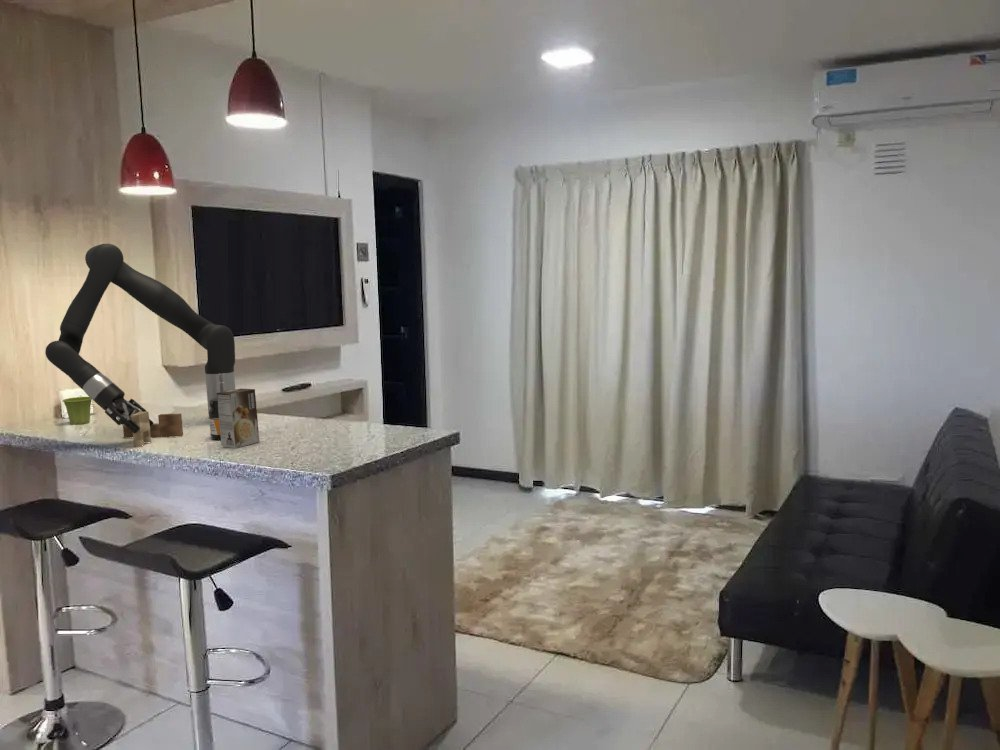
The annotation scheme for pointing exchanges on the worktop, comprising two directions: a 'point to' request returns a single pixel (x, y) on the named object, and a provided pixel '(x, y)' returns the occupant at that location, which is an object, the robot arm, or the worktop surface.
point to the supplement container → (214, 419)
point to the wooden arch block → (141, 428)
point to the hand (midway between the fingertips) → (144, 428)
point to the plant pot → (78, 409)
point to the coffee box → (238, 417)
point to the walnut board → (162, 426)
